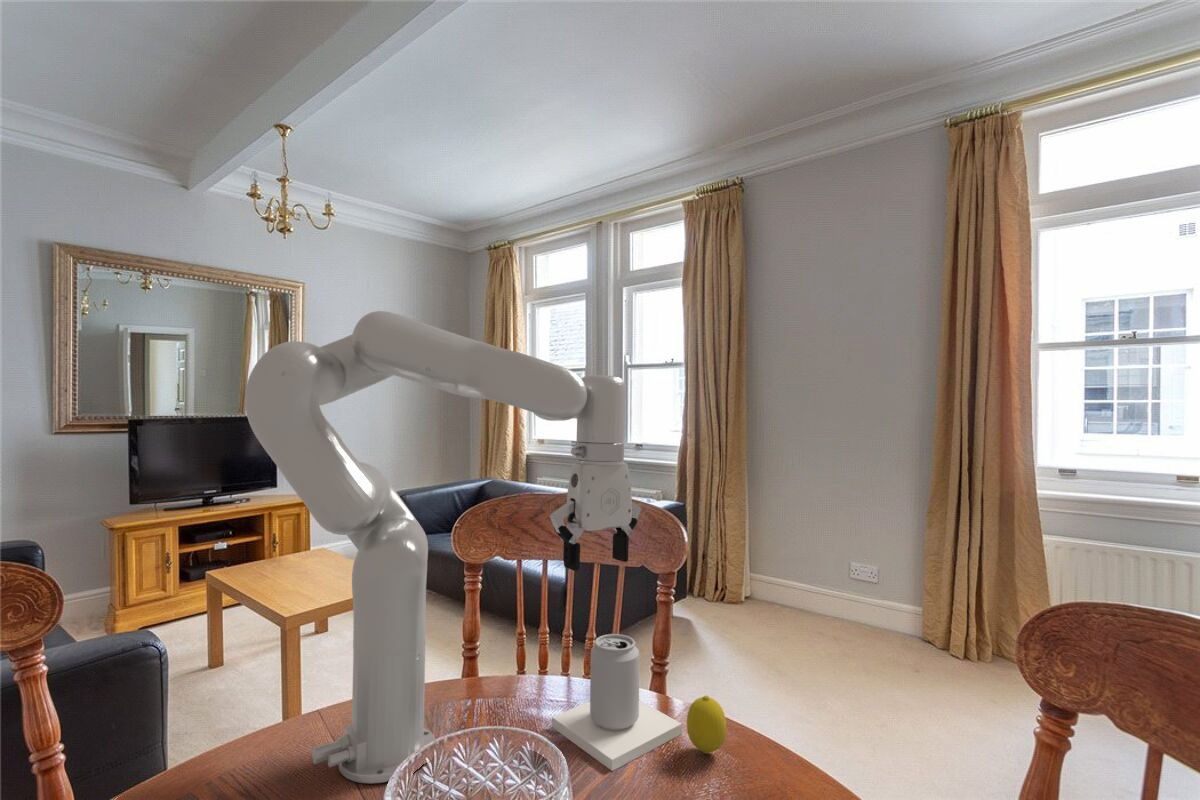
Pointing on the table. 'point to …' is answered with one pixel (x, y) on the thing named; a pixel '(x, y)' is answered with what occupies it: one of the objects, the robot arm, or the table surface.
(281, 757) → the table surface
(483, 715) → the table surface
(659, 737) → the plate
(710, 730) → the lemon
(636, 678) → the can
